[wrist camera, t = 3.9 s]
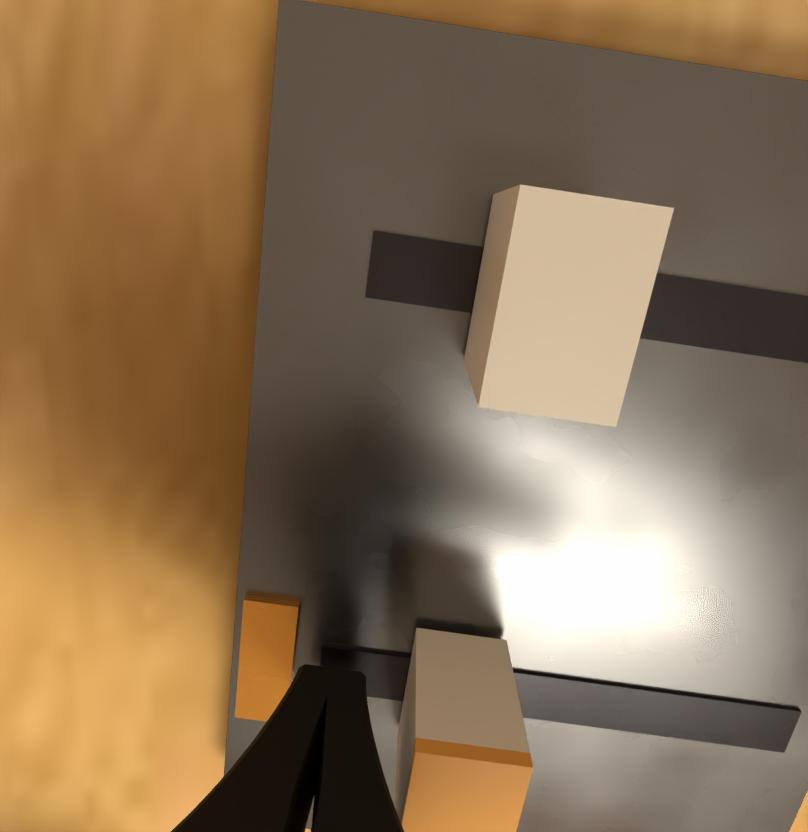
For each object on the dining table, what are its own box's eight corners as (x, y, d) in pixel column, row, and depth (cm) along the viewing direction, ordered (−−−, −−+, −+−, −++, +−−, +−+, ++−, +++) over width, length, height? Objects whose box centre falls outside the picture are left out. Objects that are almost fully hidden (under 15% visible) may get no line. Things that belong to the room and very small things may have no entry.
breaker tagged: (506, 640, 13) (533, 768, 10) (481, 746, 14) (499, 894, 11) (416, 627, 13) (415, 752, 10) (397, 735, 14) (390, 880, 11)
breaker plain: (605, 211, 11) (673, 208, 8) (567, 376, 12) (615, 427, 9) (493, 194, 11) (520, 184, 8) (463, 361, 12) (478, 407, 9)
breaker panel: (1022, 140, 12) (1117, 126, 10) (734, 832, 17) (767, 896, 16) (296, 25, 11) (276, -8, 10) (237, 767, 17) (218, 824, 15)
